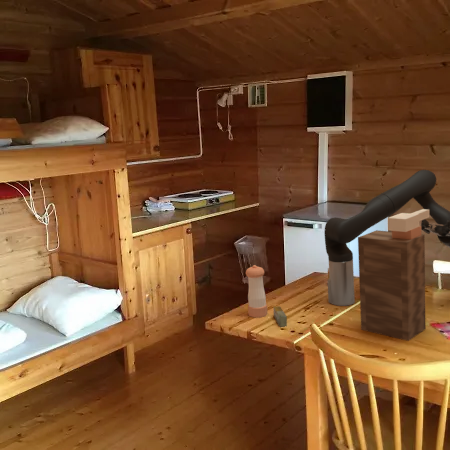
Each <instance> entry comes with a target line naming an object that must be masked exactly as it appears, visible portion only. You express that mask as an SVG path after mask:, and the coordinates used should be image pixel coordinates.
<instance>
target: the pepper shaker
mask: <svg viewBox="0 0 450 450" xmlns="http://www.w3.org/2000/svg"><path fill="white" fill-rule="evenodd" d="M264 275H265V269H264V268H263V267H260V266H257V265H256V264H253V265H252V266H251V267H248V268H247V269H246V270H245V276H246V277H247V278H248V281H247V282H248V294H247V300H248V305H247V311H248V316H249V317H250V318H262V317H265V316H267V315H268V304H267V302H266V299H267V297H266V293H265V292H266V291H265V288H264V278H263V277H264Z"/></svg>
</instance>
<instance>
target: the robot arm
mask: <svg viewBox="0 0 450 450" xmlns="http://www.w3.org/2000/svg"><path fill="white" fill-rule="evenodd" d="M436 184H437V176H436V174H435V173H434V172H433V171H431V170H429V169H428V170H427V169H420V170H418V171H416V172H415V173H414V174H412V175H411V176H409V177H408V178H406V179H405V181H403V182H401V183H400V184H398V185H395V186H392V187H391V188H389V189H388V190H386V191H383V192H381V193H380V194H378V195H376V196H375V197H373V198H372V199H370V200H369V201H367V202H366V204H365V206H364V208H363V209H362V210H361V211H360V212H359V213H357V214H356V215H353V216H352V217H349V218H341V217H331V218H330V219H328V220H327V221H326V223H325V225H324V232H323V233H324V242H325V243H324V245H325V252H326V254H327V256H328V268H329V279H328V278H327V281H326V282H327V299H328V303H329V304H332V305H333V306H339V307H341V306H345V307H346V306H351V305H353V304H355V303H356V301H355V280H354V279H355V278H354V276H355V275H354V253H353V251H352V250H351V249H350V248H349V246H348V245H347V244H348V243H351V242H352V241H354V240H355V239H356V238H357V239H358V237H360V236H361V235H362V234H363V233H364V232H366V231H367V230H369V229H370V228H372V227H374V226H375V225H377V224H379V223H380V222H383V221H384V220H385V219H388V218H389V217H392V216H393V215H394V214H395V213H397V212H398V211H399V210H401V209H402V208H403V207H404V206H405V205H406V204H407V203H408V202H409V201H411V200H412V199H414V201H416V202H417V203H418V204H419V205H420V207H422V209H428V210H429V217H431V218H432V219H433V220H434V221H435V222H429V221H428V220H427V218H426V219H424V220H421V221H420V222H421V223H420V224H421V225H420V226H421V231H423V232H424V233H425V234H426V235H427V234H428V235H429V234H431V233H432V234H435V235H436V236H437V238H438V240H439V241H440V242H441V243H442V244H443V245H445V246H446V247H448V248H449V249H450V210H448V209H446V208H445V207H443V206H442V205H440V204H439V203H438V202H436V200H435V199H434V198H433V196H432V194H431V193H430V192H431V191H432V190H433V189H434V188H435V186H436Z"/></svg>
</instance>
